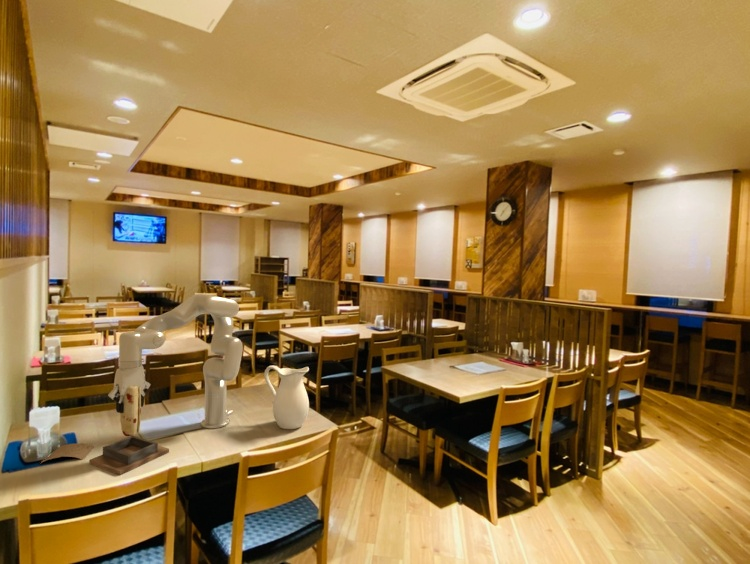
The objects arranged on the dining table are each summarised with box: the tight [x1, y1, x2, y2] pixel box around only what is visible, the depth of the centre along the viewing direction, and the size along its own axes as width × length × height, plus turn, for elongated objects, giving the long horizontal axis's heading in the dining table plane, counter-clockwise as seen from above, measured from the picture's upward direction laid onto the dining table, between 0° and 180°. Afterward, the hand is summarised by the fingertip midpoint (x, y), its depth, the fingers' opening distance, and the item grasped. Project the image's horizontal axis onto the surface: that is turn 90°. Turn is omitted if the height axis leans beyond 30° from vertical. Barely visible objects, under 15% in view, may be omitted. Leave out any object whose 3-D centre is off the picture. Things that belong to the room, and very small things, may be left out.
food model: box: [119, 386, 142, 437], centre depth 157 cm, size 10×7×20 cm
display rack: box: [88, 435, 170, 476], centre depth 158 cm, size 20×18×5 cm
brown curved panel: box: [40, 442, 95, 464], centre depth 158 cm, size 16×11×3 cm
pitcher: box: [263, 365, 310, 430], centre depth 195 cm, size 24×17×28 cm
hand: (130, 408), depth 157 cm, fingers closed on food model, 7 cm apart
